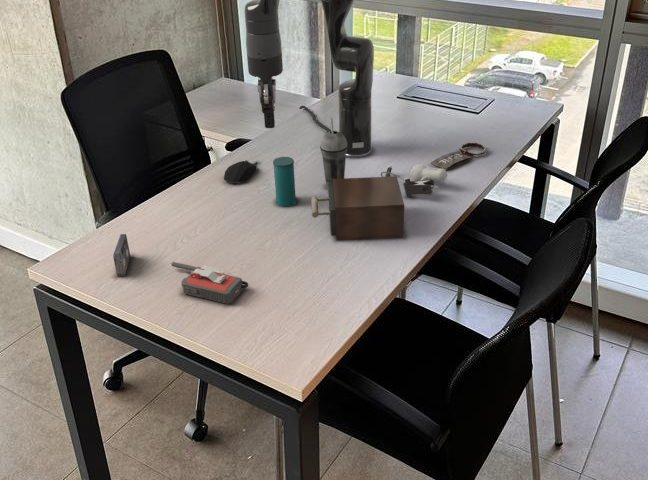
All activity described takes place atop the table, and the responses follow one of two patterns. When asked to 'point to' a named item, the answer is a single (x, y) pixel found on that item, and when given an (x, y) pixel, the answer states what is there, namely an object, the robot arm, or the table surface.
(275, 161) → the tin
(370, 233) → the cabinet
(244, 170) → the gaming mouse
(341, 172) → the beverage cup
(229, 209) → the table surface
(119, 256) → the mini dv tape
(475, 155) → the keychain
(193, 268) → the walkie-talkie
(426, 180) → the clip-on lamp
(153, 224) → the table surface
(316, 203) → the drawer
